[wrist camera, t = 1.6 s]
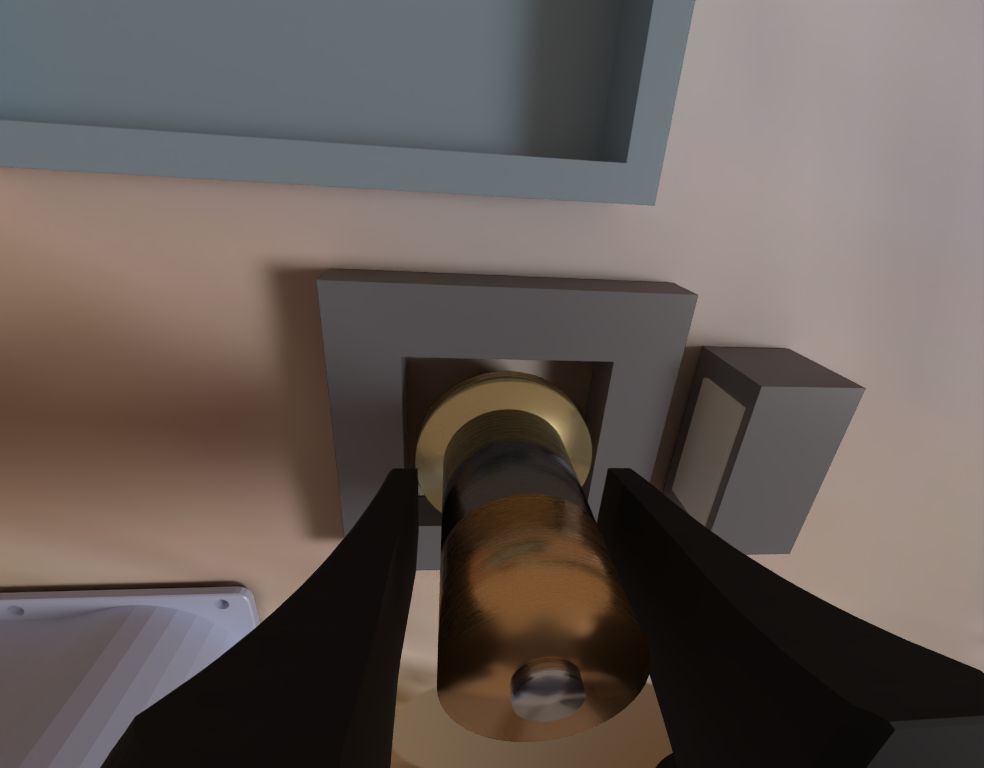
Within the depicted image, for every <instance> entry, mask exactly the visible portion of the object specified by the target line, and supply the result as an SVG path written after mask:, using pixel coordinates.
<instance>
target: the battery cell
mask: <svg viewBox="0 0 984 768" xmlns="http://www.w3.org/2000/svg"><path fill="white" fill-rule="evenodd" d="M650 668H651V656H650V650H649V648H648V645H647V643H646V641H645V638H644V636H643V633H642V631H641V629H640V626H639V624H638V621H637V619H636V616H635V614H634V612H633V609H632V607H631V604H630V602H629V600H628V597H627V595H626V592H625V590H624V588H623V585H622V583H621V580H620V578H619V576H618V573H617V571H616V568H615V566H614V564H613V561H612V559H611V556H610V554H609V552H608V549H607V547H606V544H605V542H604V540H603V537H602V535H601V532H600V530H599V528H598V525H597V523H596V520H595V518H594V516H593V513H592V511H591V508H590V506H589V504H588V501H587V499H586V496H585V494H584V492H583V489H582V487H581V484H580V482H579V480H578V477H577V475H576V472H575V470H574V468H573V465H572V463H571V460H570V458H569V456H568V453H567V451H566V448H565V446H564V444H563V441H562V439H561V437H560V435H559V434H558V432H557V431H556V429H555V428H554V427H553V426H552V425H551V424H550V423H549V422H547V421H546V420H544V419H543V418H541V417H539V416H537V415H535V414H533V413H530V412H526V411H522V410H514V409H504V410H496V411H491V412H487V413H484V414H482V415H479V416H477V417H475V418H473V419H471V420H470V421H468V422H467V423H465V424H464V425H463V426H462V427H461V428H460V429H458V430H457V432H456V433H455V434H454V435H453V436H452V438H451V440H450V441H449V443H448V445H447V448H446V450H445V454H444V460H443V489H442V525H441V560H440V596H439V632H438V667H437V692H438V697H439V700H440V703H441V705H442V707H443V709H444V710H445V712H446V713H447V714H448V715H449V716H450V718H451V719H453V720H454V721H455V722H456V723H457V724H459V725H460V726H462V727H464V728H465V729H467V730H469V731H471V732H474V733H476V734H479V735H482V736H485V737H488V738H492V739H497V740H503V741H511V742H512V741H513V742H537V741H547V740H553V739H558V738H563V737H567V736H571V735H574V734H577V733H580V732H584V731H586V730H588V729H591V728H593V727H596V726H598V725H599V724H602V723H604V722H606V721H607V720H609V719H611V718H612V717H614V716H615V715H617V714H618V713H619V712H621V711H622V710H623V709H625V708H626V707H627V706H628V705H629V704H630V703H631V702H632V701H633V700H634V699H635V698H636V697H637V696H638V694H639V693H640V692H641V690H642V689H643V687H644V685H645V683H646V681H647V679H648V676H649V673H650Z"/></svg>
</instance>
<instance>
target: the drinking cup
mask: <svg viewBox="0 0 984 768" xmlns="http://www.w3.org/2000/svg"><path fill="white" fill-rule="evenodd" d="M656 768H677V765H676V761H675V758H674V754H673V753H672V754H670V755H669V756H667V757H666V758H664V759H663V760H662V761H661V762H660V763H659V764H658V765H657V767H656Z"/></svg>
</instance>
